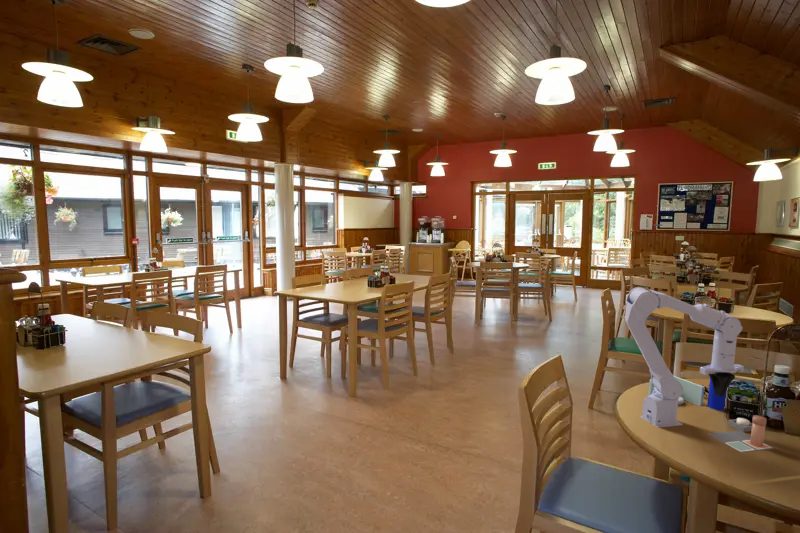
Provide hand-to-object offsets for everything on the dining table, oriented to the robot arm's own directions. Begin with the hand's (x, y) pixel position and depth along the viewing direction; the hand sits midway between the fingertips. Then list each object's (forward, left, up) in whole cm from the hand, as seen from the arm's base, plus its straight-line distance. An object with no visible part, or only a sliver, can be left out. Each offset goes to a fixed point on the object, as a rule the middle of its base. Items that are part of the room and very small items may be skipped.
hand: (719, 395), depth 146 cm
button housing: (+7, -3, -10) cm, 13 cm away
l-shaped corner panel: (+2, +19, -11) cm, 22 cm away
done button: (+7, -3, -9) cm, 12 cm away
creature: (+18, +21, -11) cm, 30 cm away
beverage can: (+12, +11, -11) cm, 19 cm away
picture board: (-2, -10, -10) cm, 15 cm away
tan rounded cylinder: (+1, -13, -10) cm, 16 cm away
